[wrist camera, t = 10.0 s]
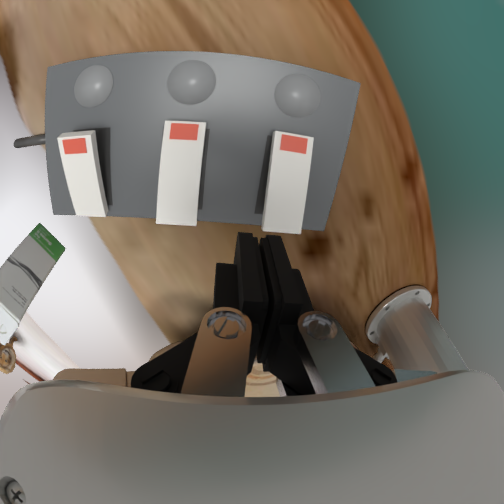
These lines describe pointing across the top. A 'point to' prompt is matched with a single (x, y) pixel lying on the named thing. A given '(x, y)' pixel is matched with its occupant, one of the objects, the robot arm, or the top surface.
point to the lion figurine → (7, 356)
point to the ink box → (25, 277)
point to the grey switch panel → (197, 110)
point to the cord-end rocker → (83, 172)
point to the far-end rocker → (287, 182)
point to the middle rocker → (180, 172)
